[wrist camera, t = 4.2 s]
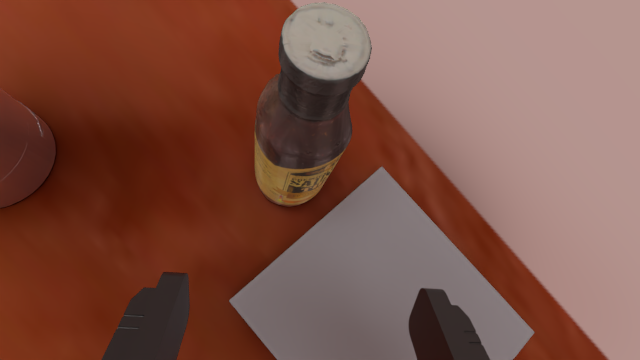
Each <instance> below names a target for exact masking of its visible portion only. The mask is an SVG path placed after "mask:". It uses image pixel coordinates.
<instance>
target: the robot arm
mask: <svg viewBox="0 0 640 360" xmlns="http://www.w3.org/2000/svg"><path fill="white" fill-rule="evenodd" d="M55 154H56V148H55V140H54V137H53V134H52V132H51V130H50V128H49V127H48V125H47V124H46V123H45V122H44V121H43V120H42V119H41V118H40V117H39V116H37V115H36V114H35V113H33V112H32V111H31V110H29V108H27V107H26V106H25V105H23V104H22V103H20V102H19V101H17V100H16V99H14V98H13V97H11V96H10V95H9V94H8V93H6V92H5V91H3V90H2V89H1V88H0V208H2V207H6V206H10V205H12V204H14V203H17V202H19V201H21V200H23V199H24V198H26V197H27V196H29V195H30V194H32V193H33V192H34V191H35V190H36V189H37V188H38V187H39V186H41V185H42V183H43V182H44V180H45V179H46V178H47V176H48V175H49V173H50V171H51V169H52V166H53V164H54V159H55ZM188 316H189V282H188V274H187V273H173V272H163V274H162V275H161V278H160V280H159V282H158V285H157V287H156V288H143V289H142V290H141V291H140V292H139V293H138V294H137V295H135V296H134V297H133V298H132V299H131V301H130V303H129V305H128V307H127V309H126V311H125V313H124V317H122V319H121V321H120V323H119V325H118V329H116V331H115V333H114V335H113V338H112V340H111V342H110V344H109V346H108V348H107V350H106V352H105V354H104V356H103V358H102V360H176V359H177V355H178V352H179V349H180V345H181V342H182V339H183V335H184V332H185V329H186V325H187V321H188ZM409 334H410V338H411V341H412V344H413V347H414V350H415V354H416V357H417V360H490V358H489V356H488V354H487V352H486V350H485V348H484V346H483V345H482V344H481V343H482V342H481V340H480V338H479V336H478V334H476V330H475V328H474V326H473V324H472V322H471V320H470V318H469V317H468V316H467V315H466V314H465V312H464V311H463V310H462V309H461V308H460V307H459V306H458V305H451V303H450V301H449V299H448V296H447V294H446V292H445V291H444V290H443V289H431V288H421V289H420V290H419V293H418V295H417V298H416V301H415V303H414V306H413V309H412V311H411V314H410V317H409Z"/></svg>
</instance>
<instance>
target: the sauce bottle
mask: <svg viewBox="0 0 640 360" xmlns="http://www.w3.org/2000/svg"><path fill="white" fill-rule="evenodd" d="M371 49H372V47H371V41H370V37H369V34H368V31H367V29H366V27H365V25H364V24H363V23H362V22H361V20H360V19H359V18H358V17H357V16H355V15H354V14H353V13H352V12H350V11H349V10H347V9H345V8H343V7H340V6H338V5H335V4H328V3H312V4H308V5H305V6H302V7H300V8H298V9H297V10H296V11H295V12H294V13H293V14H292V15H290V16H289V17H288V18H287V19H286V21H285V23H284V25H283V28H282V32H281V37H280V43H279V61H280V65H281V72H280V74H277V75H275V77H274V78H272V79H271V80H269V82H268V83H267V85H266V86H265V88H264V90H263V92H262V94H261V96H260V98H259V101H258V105H257V111H256V112H257V115H256V121H255V176H256V180H257V183H258V185H259V187H260V189H261V191H262V193H263V194H264V196H265V197H266V198H267V199H269V200H270V201H271V202H273V203H275V204H278V205H282V206H286V207H292V206H297V205H299V204H302V203H305V202H307V201H308V200H310V199H312V198H313V197H314V196H315V195H316V194H317V193H318V192H319V191H320V189H321V188H322V186H323V184H324V183H325V181H326V180H327V178H328V176H329V175H330V173H331V172H332V170H333V169H334V167H335V165H336V164H337V162H338V160H339V159H340V157H341V155H342V154H343V152H344V151H345V149H346V147H347V146H348V144H349V142H350V139H351V135H352V124H351V118H350V112H349V104H348V101H349V96H350V92H351V90H352V88H353V87H354V86H355V85H356V84H357V83H358V82H359V81H360V80H361V78H362V76H363V74H364V72H365V69H366V66H367V64H368V62H369V59H370V54H371Z"/></svg>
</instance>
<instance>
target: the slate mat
mask: <svg viewBox="0 0 640 360" xmlns="http://www.w3.org/2000/svg"><path fill="white" fill-rule="evenodd" d="M421 288H431V289H443V290H444V291H445V292H446V294H447V296H448V299H449V301H450V303H451V305H458V306H459V307H460V308H461V309H462V310H463V311H464V312H465V314H466V315H467V316H468V317H469V318H470V320H471V322H472V324H473V326H474V328H475V330H476V334H478V336H479V338H480V340H481V342H482V343H481V344H482V345H483V346H484V348H485V350H486V352H487V354H488V356H489V358H490V360H513V359H514V358H515V356H516V355H517V354H518V353H519V351H520V350H521V349H522V348H523V346H524V345H525V344H526V343H527V341H528V340H529V339H530V337H531V336H532V335H533V334H534V331H533V330H532V329H531V328H530V327H529V326H528V325H527V324H526V322H525V321H524V320H523V319H522V318H521V317H520V316H519V315H518V314H517V313H516V312H515V311H514V309H513V308H512V307H511V306H510V305H509V304H508V303H507V302H506V301H505V300H504V299H503V298H502V296H501V295H500V294H499V293H498V292H497V291H496V290H495V289H494V288H493V287H492V286H491V284H490V283H489V282H488V281H487V280H486V279H485V278H484V277H483V276H482V275H481V274H480V273H479V271H478V270H477V269H476V268H475V267H474V266H473V265H472V264H471V263H470V262H469V261H468V259H467V258H466V257H465V256H464V255H463V254H462V253H461V252H460V251H459V250H458V249H457V248H456V246H455V245H454V244H453V243H452V242H451V241H450V240H449V239H448V238H447V237H446V236H445V234H444V233H443V232H442V231H441V230H440V229H439V228H438V227H437V226H436V225H435V224H434V223H433V221H432V220H431V219H430V218H429V217H428V216H427V215H426V214H425V213H424V212H423V211H422V209H421V208H420V207H419V206H418V205H417V204H416V203H415V202H414V201H413V200H412V199H411V198H410V196H409V195H408V194H407V193H406V192H405V191H404V190H403V189H402V188H401V187H400V186H399V184H398V183H397V182H396V181H395V180H394V179H393V178H392V177H391V176H390V175H389V174H388V173H387V171H386V170H385V169H384V168H383V167H380V168H379V169H378V170H377V171H376V172H375V173H374V174H372V175H371V176H370V177H369V178H368V179H367V180H366V181H364V182H363V183H362V184H361V185H360V186H359V187H358V188H357V189H355V190H354V191H353V192H352V193H351V194H350V195H349V196H347V197H346V198H345V199H344V200H343V201H342V202H341V203H339V204H338V205H337V206H336V207H335V208H334V209H333V210H332V211H330V212H329V213H328V214H327V215H326V216H325V217H324V218H322V219H321V220H320V221H319V222H318V223H317V224H316V225H314V226H313V227H312V228H311V229H310V230H309V231H308V232H306V233H305V234H304V235H303V236H302V237H301V238H300V239H299V240H297V241H296V242H295V243H294V244H293V245H292V246H291V247H289V248H288V249H287V250H286V251H285V252H284V253H283V254H281V255H280V256H279V257H278V258H277V259H276V260H275V261H274V262H272V263H271V264H270V265H269V266H268V267H267V268H266V269H264V270H263V271H262V272H261V273H260V274H259V275H258V276H256V277H255V278H254V279H253V280H252V281H251V282H250V283H248V284H247V285H246V286H245V287H244V288H243V289H242V290H241V291H239V292H238V293H237V294H236V295H235V296H234V297H233V298H231V299H230V300H229V302H230V303H231V304H232V305H233V307H234V308H235V309H236V310H237V311H238V313H239V314H240V315H241V316H242V318H243V319H244V320H245V321H246V322H247V324H248V325H249V326H250V327H251V329H252V330H253V331H254V332H255V333H256V335H257V336H258V337H259V338H260V340H261V341H262V342H263V343H264V344H265V346H266V347H267V348H268V349H269V350H270V352H271V353H272V354H273V355H274V357H275V358H276V359H277V360H417V357H416V354H415V350H414V347H413V344H412V341H411V338H410V334H409V317H410V314H411V311H412V309H413V306H414V303H415V301H416V298H417V295H418V293H419V290H420V289H421Z"/></svg>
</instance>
